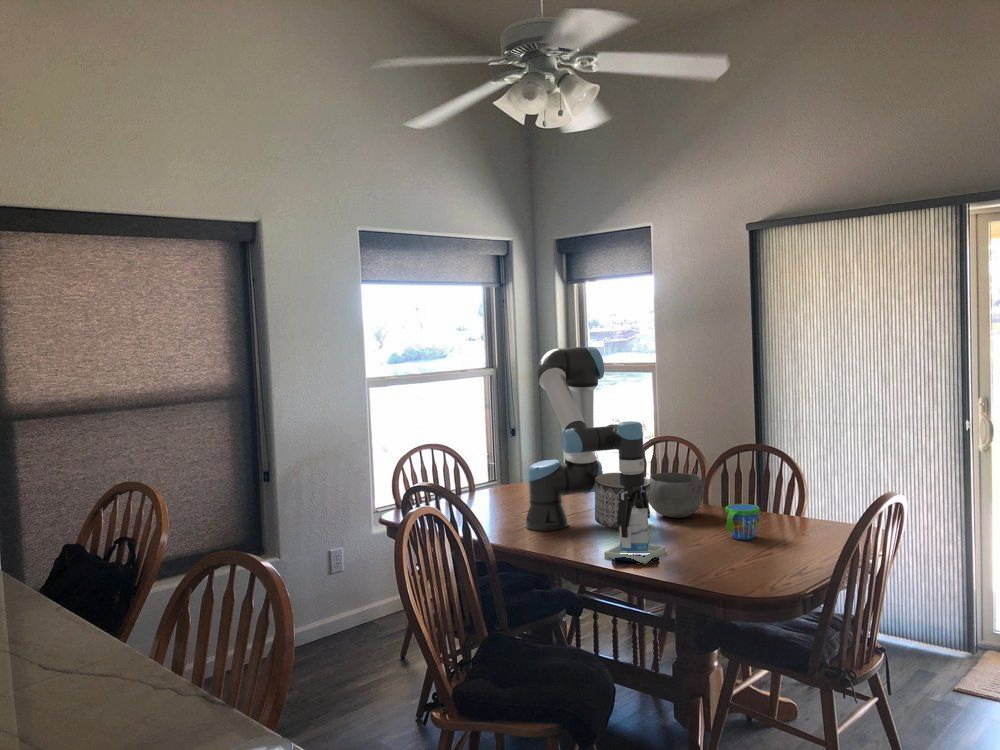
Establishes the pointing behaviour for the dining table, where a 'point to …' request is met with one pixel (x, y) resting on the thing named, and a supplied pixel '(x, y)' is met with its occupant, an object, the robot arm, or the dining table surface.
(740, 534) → the snack cup
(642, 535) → the ink box
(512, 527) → the dining table surface
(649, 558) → the tray
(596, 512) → the planter
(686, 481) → the bowl
